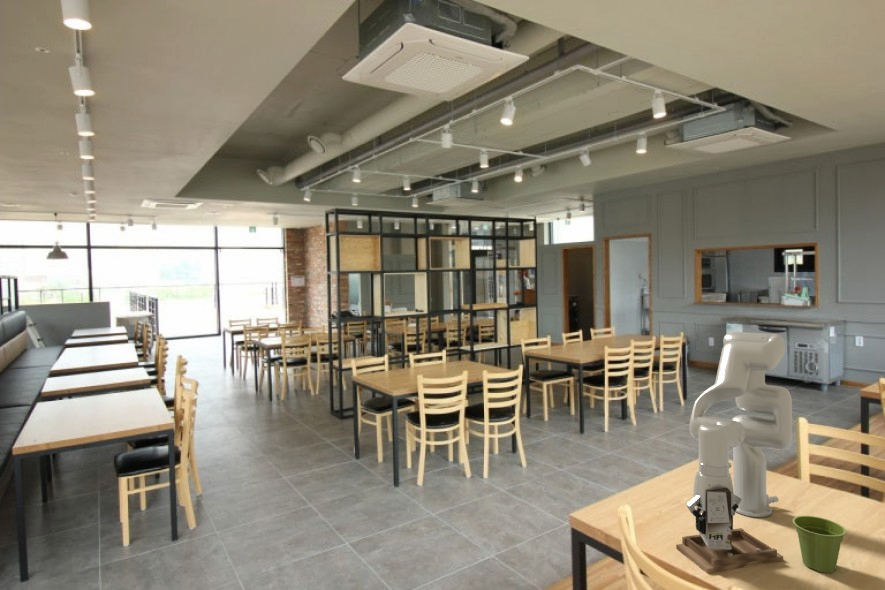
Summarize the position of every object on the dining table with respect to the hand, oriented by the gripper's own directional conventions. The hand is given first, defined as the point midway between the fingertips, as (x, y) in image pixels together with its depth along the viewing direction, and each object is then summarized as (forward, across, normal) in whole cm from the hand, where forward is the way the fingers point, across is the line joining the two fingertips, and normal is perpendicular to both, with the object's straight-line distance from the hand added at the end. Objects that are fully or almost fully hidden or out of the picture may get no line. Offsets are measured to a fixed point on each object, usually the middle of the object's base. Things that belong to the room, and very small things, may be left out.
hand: (714, 529), depth 148 cm
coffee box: (+4, 0, 0) cm, 4 cm away
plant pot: (+8, -23, +11) cm, 27 cm away
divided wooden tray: (+8, -4, 0) cm, 9 cm away
